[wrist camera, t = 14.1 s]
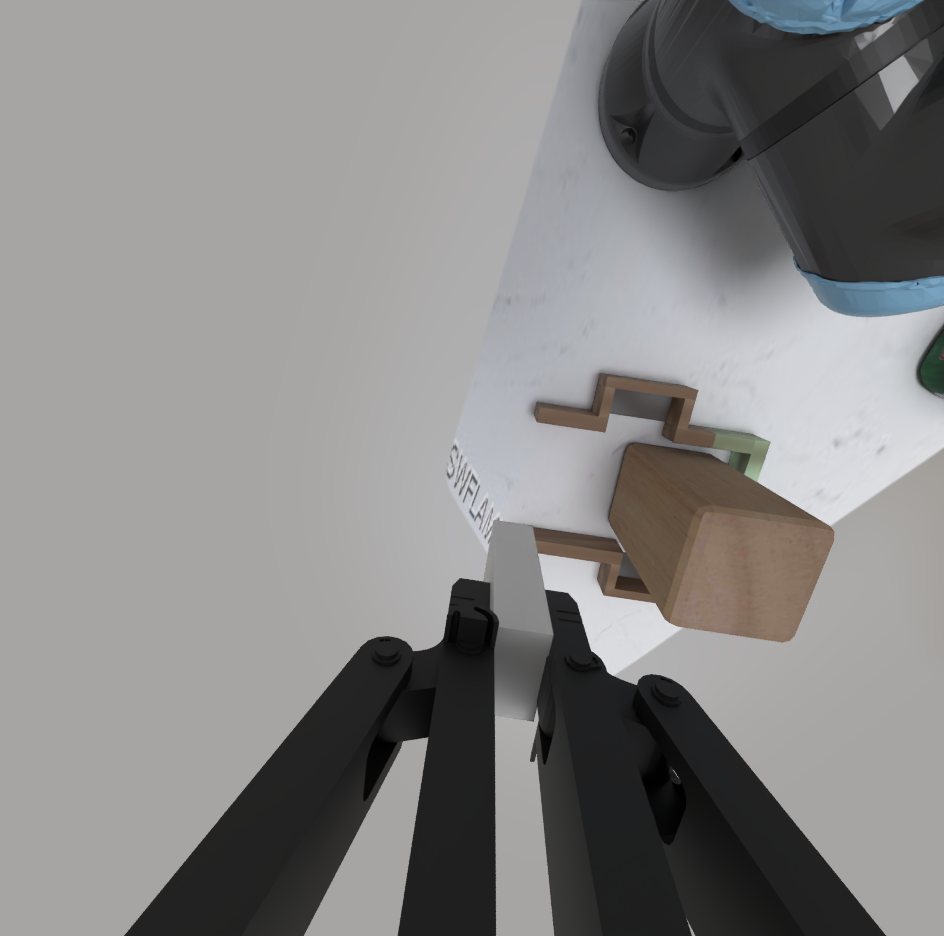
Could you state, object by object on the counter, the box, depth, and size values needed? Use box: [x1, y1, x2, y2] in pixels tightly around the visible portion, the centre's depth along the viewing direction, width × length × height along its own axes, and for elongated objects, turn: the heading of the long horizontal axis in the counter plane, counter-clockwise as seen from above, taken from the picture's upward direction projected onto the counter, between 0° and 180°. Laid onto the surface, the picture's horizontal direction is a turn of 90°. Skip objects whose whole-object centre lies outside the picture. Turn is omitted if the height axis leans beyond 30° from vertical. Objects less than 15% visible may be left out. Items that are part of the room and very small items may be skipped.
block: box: [609, 443, 834, 642], centre depth 43 cm, size 10×10×20 cm
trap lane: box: [533, 373, 770, 603], centre depth 51 cm, size 24×24×4 cm
